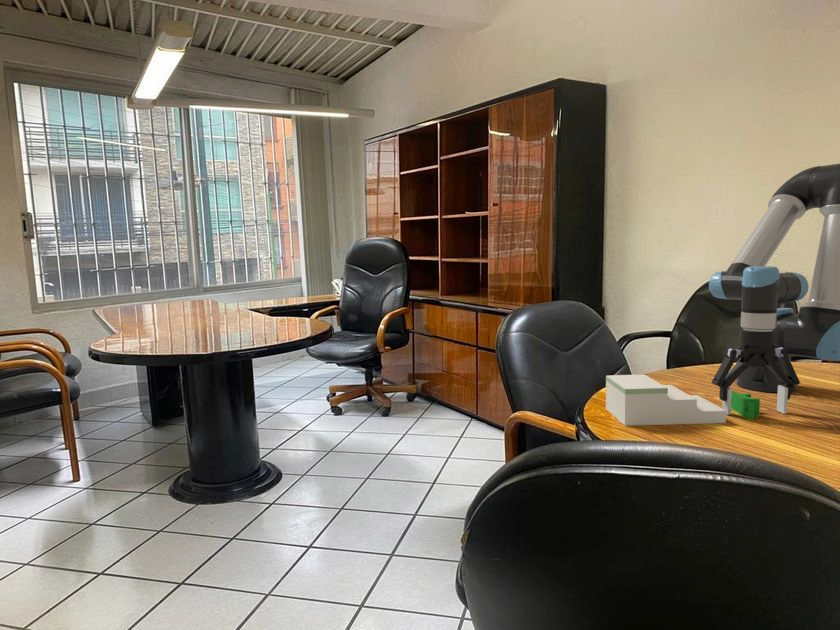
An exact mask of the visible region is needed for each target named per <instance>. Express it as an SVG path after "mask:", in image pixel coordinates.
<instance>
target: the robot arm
mask: <svg viewBox="0 0 840 630" xmlns="http://www.w3.org/2000/svg"><path fill="white" fill-rule="evenodd" d="M767 207H768V209H767V210H766V212H765V214H764V215H763V216H762V217H761V219H760V220H759V222H758V223H757V225H756V227H755V228H754V229H753V231H752V232H751V234H750V236H749V237H748V239H747V240H746V242H745V243H744V244H743V246H742V248H741V249H740V250H739V252H738V253H737V255H736V257H735V258H734V259H733V261H732V262H731V264H730V266H728V269H727V270H726V271H716V272H714V273H713V274H712V275H711V276H710V278H709V282H708V289H709V292H710V293H711V295H712V296H713V297H714V298H718V299H721V300H722V299H724V300H738V301H740V300H741V309H740V310H741V311H740V327H741V329H740V331H739V345H740V347H739V349H734V348H731V347H728V348H727V349H726V352H725V357H724V359H723V361H722V362H721V364H720V366H719V368H718V369H717V371H716V373H715V374H714V376H713V378H712V380H711V384H712V385H715V386H717V387H719V395H718V396H719V400H720V401H721V402H722V403H721V408H722V409H724V410H726V416H728V415H732V409H731V399H732V391H733V388H730V387H731V386H732V385H733V383H735V381H736V383H735V384H736V385H737V386H738V387H741V388H744V389H748V390H751V391H752V390H753V391H758V392H766V393H767V392H769V393H777V395H776V396H777V398H776V411H777V412H779V413H781V414H783V415H784V414H788V400H790V399H791V393H792V392H794V391H796V390H797V388H798V385H799V384H800V383H801V381H800V379H799V377H798V375H797V373H796V371H795V368H794V366H793V364H792V362H791V361H792V357H791V356H797V357H804V358H809V359H816V360H817V359H818V360H821V361H832V362H833V361H834V362H836V361H837V362H839V361H840V163H834V164H826V165H818V166H812V167H809V168H806V169H804V170H801V171H800V172H798V173H796V174H795V175H793V176H792V177H790V178H789V179H788V180H786V181H785V182H784V183H783V184H782V185H781V186H780V187H778V188H777V190H776V191H775V192H774V193H773V195H772V196H771V197H770V199H769V201H768V203H767ZM813 209H818V210H819V211H818V212H820V214H821V215H822V216H823V217H824V219H823V223H822V224H823V225H822V229H821V234H820V238H819V243H818V245H819V246H818V247H817V248H818V250H817V254H816V260H815V265H814V268H813V275H812V280H811V283H810V284H811V285H809V282H808V280H807V278H806V276H804V275H802V273H801V274H800V273H798V272H792V271H791V272H788V271H786V272H780V269H779V268H778V267H777V266H774V265H773V266H769V265H768V266H767V264H768V263H769V261H770V259H771V258H772V257H773V255H774V254H775V251H776V250H777V249H778V247H779V246H780V244H781V243H782V241H783V240H784V238H785V237H786V235H787V234H788V232H789V231H790V229H791V228H792V226H793V225H794V224H795V222H796V221H797V220H799V219H801V218H802V217H803V216H804V215H805V213H806V212H807V211H809V210H813ZM809 286H810V289H809ZM808 292H809V295H808V300H807V302H806V303H803V304H802V305H800V307H799V312H798V313H795V312H794V309H793V308H792V307H780V308H779V307H778V304H783V303H784V304H785V303H790V304H791V303H794V302H797V301H800V300H802V299H804V297H805V296H806V295H807V293H808ZM738 357H740V358H739V359H738V360H737V361H736V359H737V358H738ZM735 361H736V362H735ZM734 363H735V365H734ZM733 365H734V366H733Z"/></svg>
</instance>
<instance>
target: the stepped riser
mask: <svg viewBox="0 0 840 630" xmlns="http://www.w3.org/2000/svg"><path fill="white" fill-rule="evenodd" d="M605 410H607V411H608V412H609V413H610V415H613V416H614V418H616V420H618V421H619V422H620V423H621V424H622V425H623V426H624V427H625V426H629V427H631V426H659V425H660V426H662V425H663V426H666V425H700V424H701V425H702V424H726V423H727V414H726V410H724V409H722V407H720V406H718V405H716V404H714V403H713V402H710V401H709V400H708V399H705V398H704V397H702V396H700V395H698V394H697V395H695V394H693V395H690V394H688V393H686V392H684V391H683V390H680V389H679V388H677V387H675V386H673V385H672V384H661V383H660V382H658V381H657V380H655V379H653V378H652V377H649V376H648V375H646V374H615V375H614V374H613V375H605Z"/></svg>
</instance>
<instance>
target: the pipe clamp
mask: <svg viewBox="0 0 840 630" xmlns="http://www.w3.org/2000/svg"><path fill="white" fill-rule="evenodd" d="M760 403H761V400H760V398H757V397H756V398H755V397H752V394H751V393H738V392H736V390H732V399H731V408H732V409H731V410H733V411H734V410H735V411H734V412H736V413H737V412H738V413H737V414H739V415H741V416H742V417H744V418H745V419H747V420H748V419H749V420H748V421H754V420H755V417H760V408H761V407H760Z"/></svg>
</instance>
